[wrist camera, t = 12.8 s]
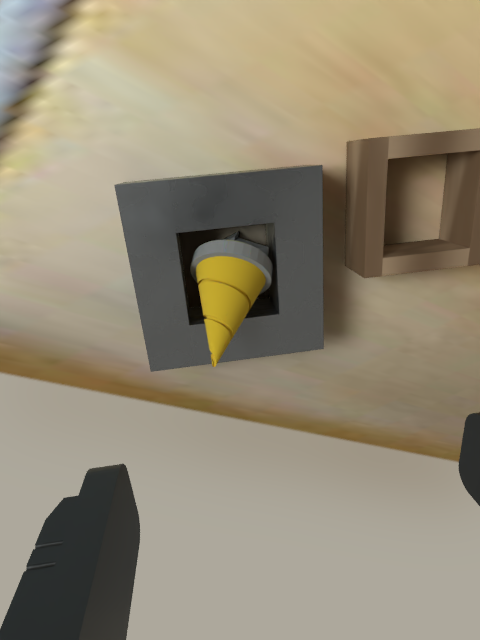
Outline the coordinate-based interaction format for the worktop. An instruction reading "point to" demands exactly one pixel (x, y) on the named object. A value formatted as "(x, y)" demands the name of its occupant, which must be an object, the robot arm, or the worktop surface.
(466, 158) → the wooden square frame
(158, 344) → the hub plate
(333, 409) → the worktop surface
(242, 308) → the drill bit
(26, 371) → the worktop surface
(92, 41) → the worktop surface
